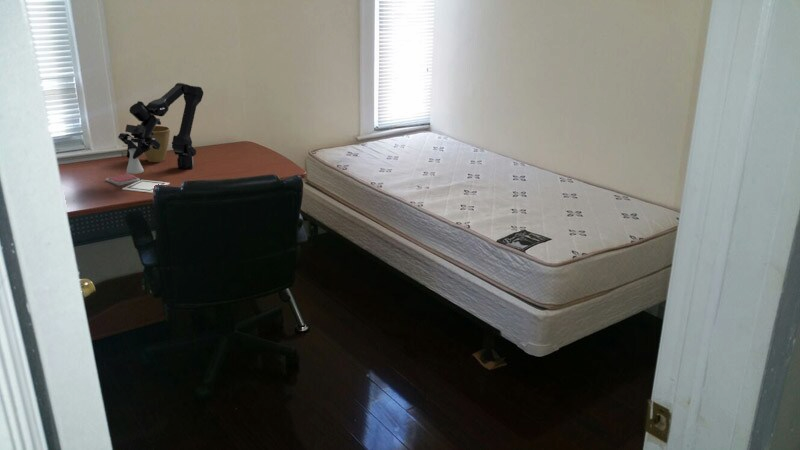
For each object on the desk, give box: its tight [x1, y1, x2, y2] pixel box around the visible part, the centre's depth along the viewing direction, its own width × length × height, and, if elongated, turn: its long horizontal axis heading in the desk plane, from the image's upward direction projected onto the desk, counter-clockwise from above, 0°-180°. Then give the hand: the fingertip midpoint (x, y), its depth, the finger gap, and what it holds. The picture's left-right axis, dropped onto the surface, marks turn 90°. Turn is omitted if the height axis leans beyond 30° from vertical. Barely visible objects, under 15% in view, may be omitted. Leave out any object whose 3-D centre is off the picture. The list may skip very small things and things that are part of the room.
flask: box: [125, 149, 145, 175], centre depth 275 cm, size 7×7×10 cm
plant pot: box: [144, 125, 171, 163], centre depth 313 cm, size 15×15×16 cm
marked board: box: [121, 179, 171, 194], centre depth 276 cm, size 14×14×1 cm
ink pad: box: [105, 173, 140, 186], centre depth 282 cm, size 10×10×2 cm
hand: (130, 157), depth 273 cm, fingers closed on flask, 3 cm apart
